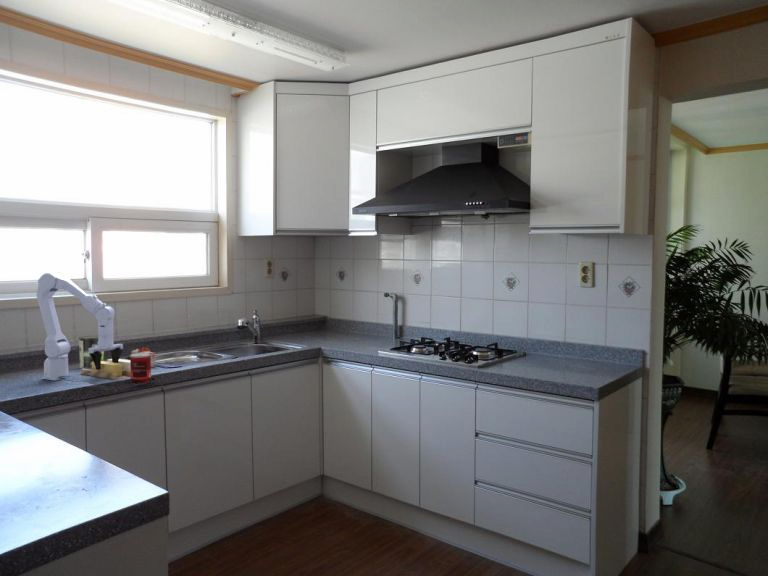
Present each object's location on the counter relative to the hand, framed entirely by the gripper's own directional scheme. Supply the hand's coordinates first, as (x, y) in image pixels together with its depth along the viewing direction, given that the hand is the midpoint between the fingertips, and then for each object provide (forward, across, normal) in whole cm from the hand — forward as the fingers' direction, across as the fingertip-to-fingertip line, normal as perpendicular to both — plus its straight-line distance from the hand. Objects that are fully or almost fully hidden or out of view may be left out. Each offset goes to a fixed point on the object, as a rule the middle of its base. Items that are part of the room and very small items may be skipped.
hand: (106, 367), depth 250 cm
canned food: (+5, +4, -17) cm, 18 cm away
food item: (+5, +22, +5) cm, 23 cm away
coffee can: (+5, +13, +29) cm, 32 cm away
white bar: (+3, +7, 0) cm, 8 cm away
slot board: (+4, +4, 0) cm, 6 cm away
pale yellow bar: (+3, 0, 0) cm, 3 cm away
